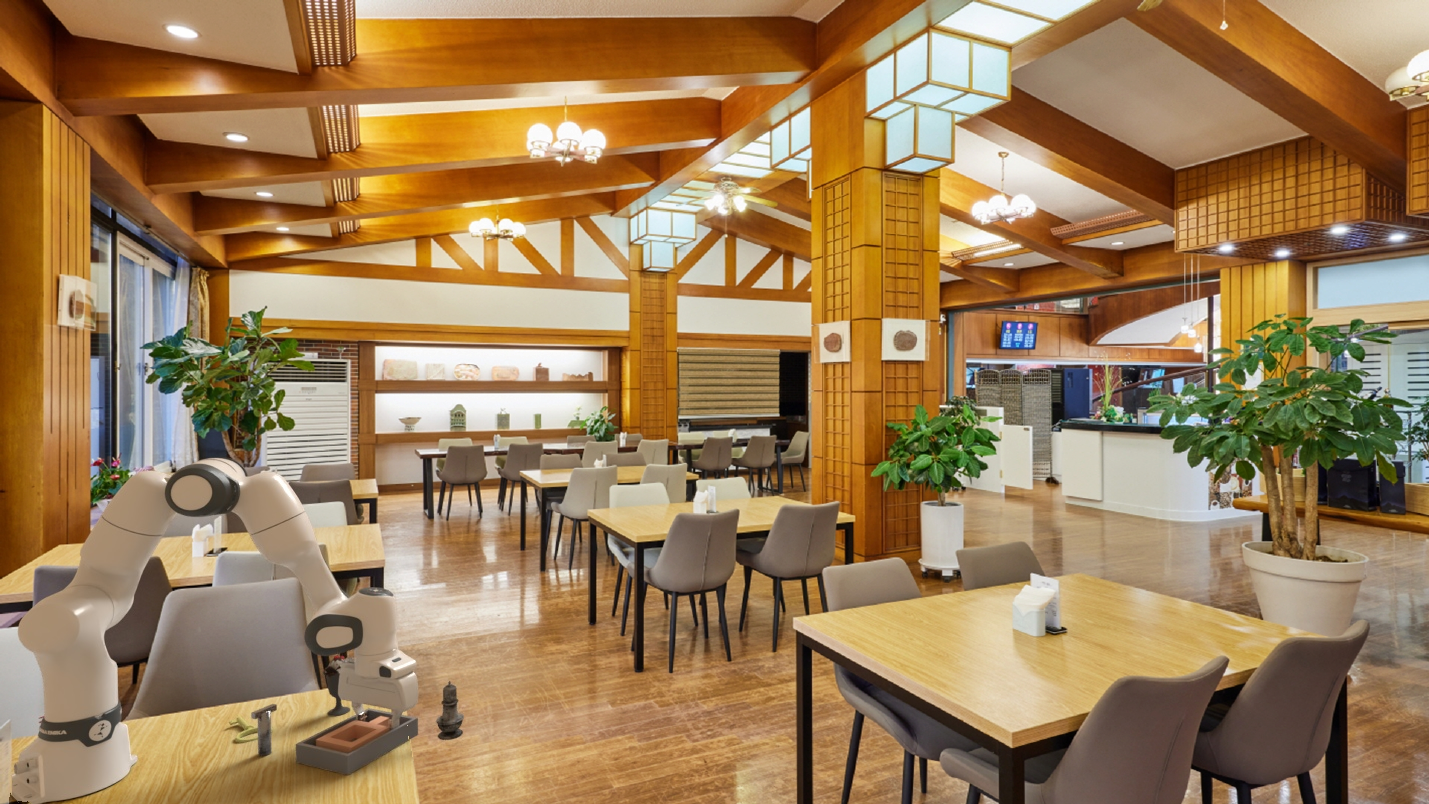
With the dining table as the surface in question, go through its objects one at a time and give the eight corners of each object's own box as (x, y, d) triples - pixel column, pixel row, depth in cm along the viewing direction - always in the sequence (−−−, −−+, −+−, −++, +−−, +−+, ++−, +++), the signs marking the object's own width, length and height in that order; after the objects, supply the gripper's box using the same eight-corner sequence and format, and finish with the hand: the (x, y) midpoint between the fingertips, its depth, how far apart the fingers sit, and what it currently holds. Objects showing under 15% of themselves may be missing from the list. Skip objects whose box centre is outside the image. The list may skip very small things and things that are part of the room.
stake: (250, 757, 153) (249, 712, 153) (271, 747, 158) (270, 703, 158) (257, 759, 152) (257, 714, 152) (279, 749, 157) (278, 704, 157)
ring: (351, 762, 149) (351, 747, 149) (316, 753, 153) (315, 739, 153) (402, 733, 162) (402, 720, 162) (368, 726, 166) (368, 713, 166)
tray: (296, 762, 151) (295, 744, 151) (369, 724, 168) (368, 708, 168) (348, 775, 146) (347, 756, 146) (418, 734, 163) (417, 717, 163)
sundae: (350, 703, 180) (349, 642, 180) (357, 712, 175) (356, 650, 175) (320, 711, 176) (319, 649, 176) (326, 720, 171) (325, 656, 171)
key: (239, 724, 170) (239, 715, 170) (277, 733, 166) (277, 723, 166) (208, 738, 164) (208, 728, 164) (247, 747, 159) (247, 737, 159)
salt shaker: (455, 741, 160) (454, 687, 159) (430, 739, 161) (430, 685, 161) (469, 729, 165) (468, 676, 165) (445, 727, 166) (445, 675, 166)
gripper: (330, 660, 163) (331, 722, 163) (400, 672, 155) (401, 737, 155) (353, 651, 168) (354, 711, 169) (422, 662, 161) (423, 725, 161)
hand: (377, 724), depth 162 cm, fingers open, 8 cm apart
